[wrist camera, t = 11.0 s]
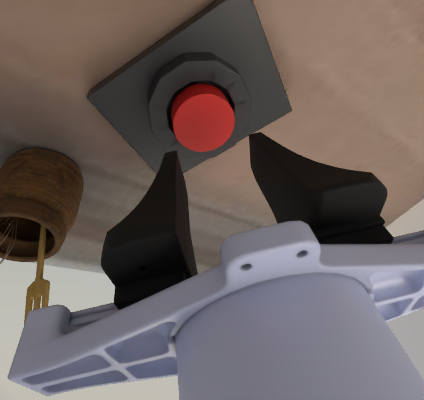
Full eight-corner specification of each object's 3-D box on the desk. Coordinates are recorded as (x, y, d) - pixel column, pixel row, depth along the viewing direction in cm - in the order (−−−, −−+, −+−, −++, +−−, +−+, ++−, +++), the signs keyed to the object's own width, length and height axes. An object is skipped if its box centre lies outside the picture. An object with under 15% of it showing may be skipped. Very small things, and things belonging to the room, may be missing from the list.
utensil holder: (51, 132, 21) (-18, 265, 12) (101, 189, 25) (77, 318, 16) (-15, 162, 22) (-124, 308, 13) (45, 212, 26) (-6, 348, 17)
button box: (164, 173, 25) (166, 196, 23) (89, 89, 19) (81, 109, 17) (285, 103, 23) (301, 121, 20) (240, -18, 17) (256, -13, 15)
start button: (191, 148, 21) (194, 161, 19) (159, 104, 18) (160, 116, 17) (238, 120, 20) (244, 132, 19) (211, 70, 17) (216, 80, 16)
